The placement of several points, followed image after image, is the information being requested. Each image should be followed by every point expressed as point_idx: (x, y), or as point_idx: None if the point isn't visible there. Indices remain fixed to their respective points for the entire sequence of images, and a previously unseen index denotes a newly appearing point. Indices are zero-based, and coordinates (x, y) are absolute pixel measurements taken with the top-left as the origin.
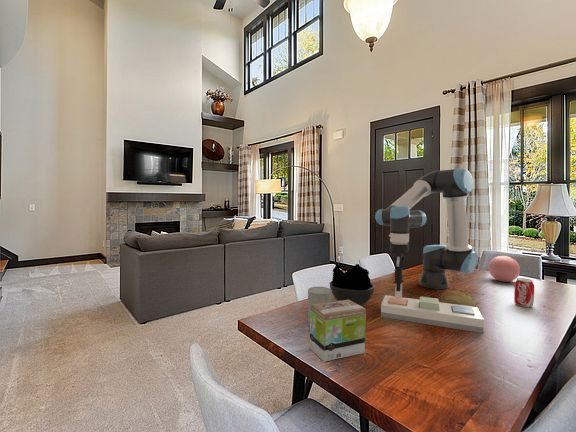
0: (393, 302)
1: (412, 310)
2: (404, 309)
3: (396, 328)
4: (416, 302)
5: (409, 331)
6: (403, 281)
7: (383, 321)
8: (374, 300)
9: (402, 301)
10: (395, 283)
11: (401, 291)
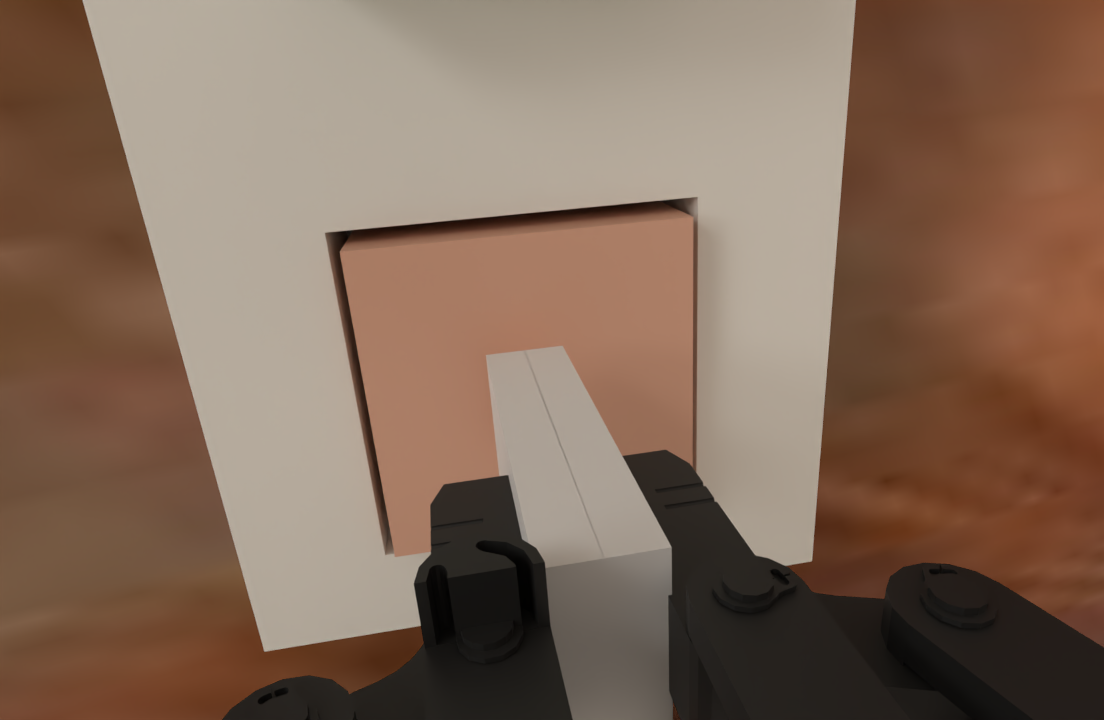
0: (688, 437)
1: (837, 72)
2: (827, 214)
3: (1020, 234)
4: (360, 35)
5: (1070, 74)
6: (544, 564)
7: (863, 407)
8: (149, 701)
9: (549, 311)
10: (668, 709)
11: (599, 420)
